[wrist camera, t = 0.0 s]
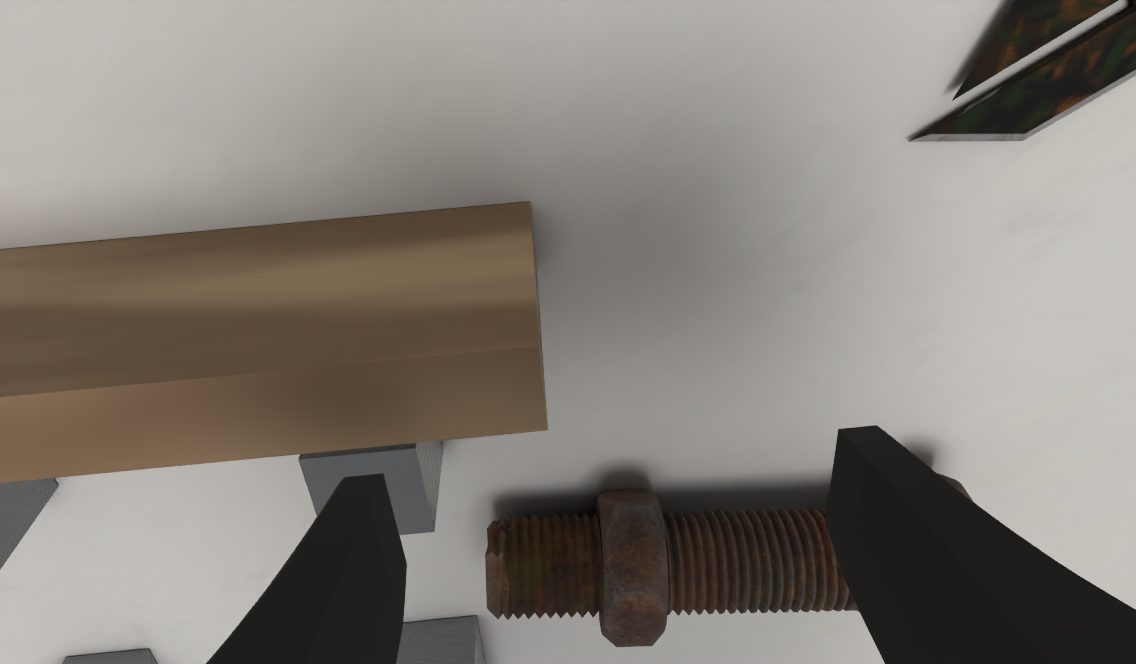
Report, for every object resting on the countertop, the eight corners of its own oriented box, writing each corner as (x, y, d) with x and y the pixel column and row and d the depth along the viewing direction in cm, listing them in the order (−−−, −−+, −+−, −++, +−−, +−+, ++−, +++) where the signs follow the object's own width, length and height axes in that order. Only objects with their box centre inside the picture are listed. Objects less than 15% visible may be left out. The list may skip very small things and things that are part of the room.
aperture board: (539, 290, 22) (550, 455, 16) (-262, 364, 22) (-553, 562, 16) (529, 201, 21) (538, 345, 15) (-326, 279, 20) (-673, 460, 14)
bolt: (493, 469, 28) (911, 460, 28) (495, 609, 28) (911, 598, 29) (478, 512, 22) (1005, 500, 23) (482, 689, 22) (1004, 674, 23)
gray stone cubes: (486, 666, 31) (484, 755, 28) (97, 706, 30) (53, 799, 27) (427, 371, 23) (415, 448, 20) (-89, 419, 23) (-177, 505, 20)
